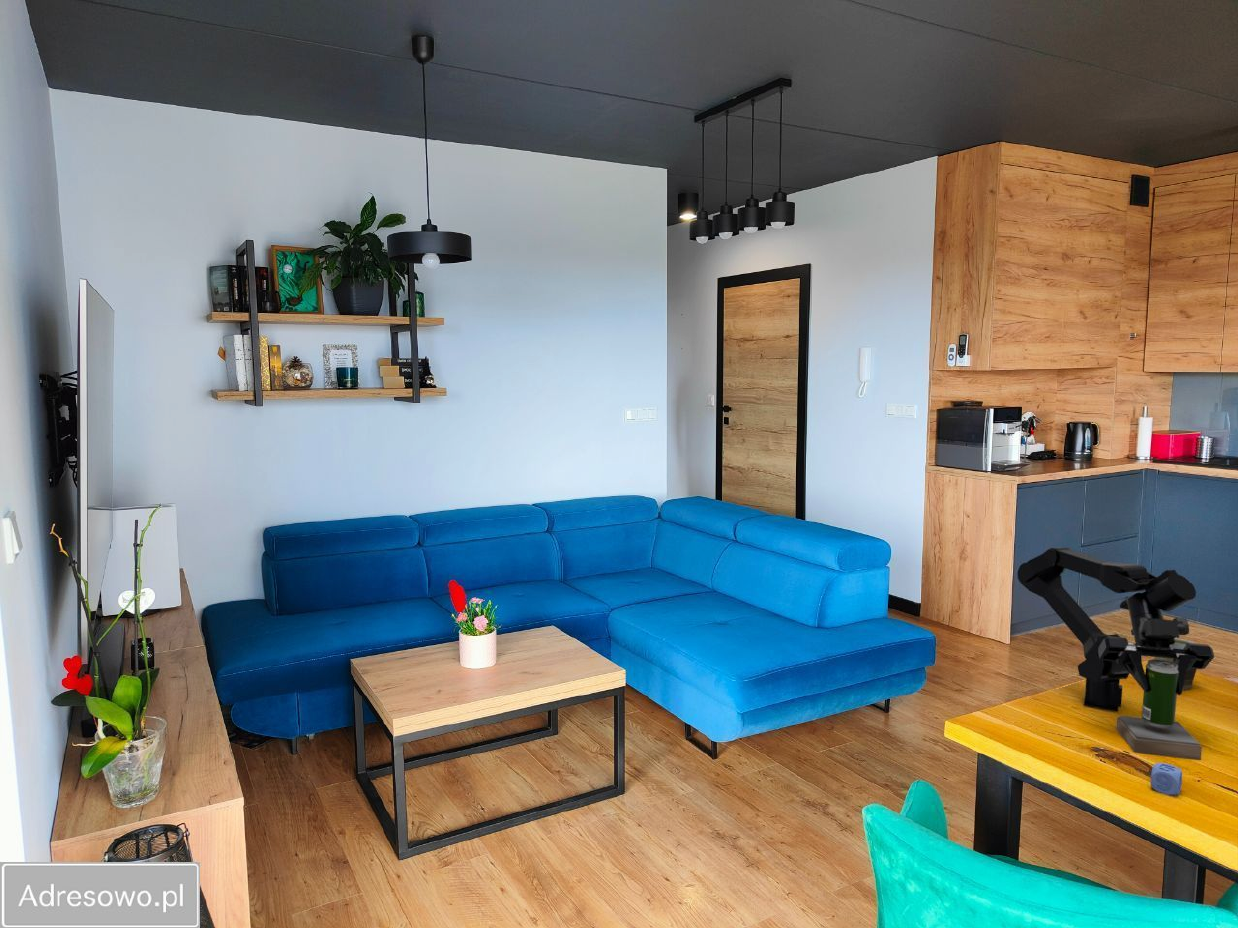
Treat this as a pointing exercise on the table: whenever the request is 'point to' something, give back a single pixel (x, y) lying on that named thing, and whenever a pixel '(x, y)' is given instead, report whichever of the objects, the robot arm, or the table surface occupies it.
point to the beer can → (1160, 693)
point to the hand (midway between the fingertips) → (1163, 692)
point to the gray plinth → (1158, 739)
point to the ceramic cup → (1189, 674)
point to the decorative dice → (1166, 779)
